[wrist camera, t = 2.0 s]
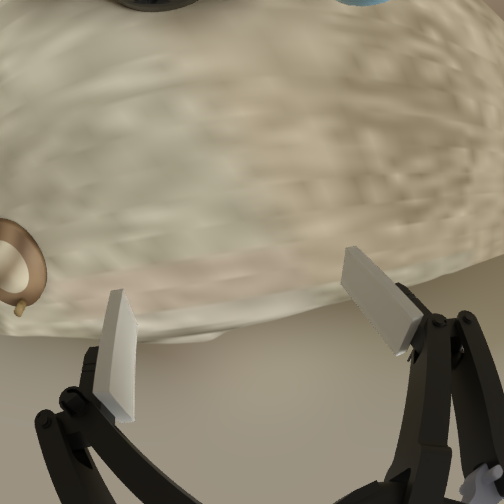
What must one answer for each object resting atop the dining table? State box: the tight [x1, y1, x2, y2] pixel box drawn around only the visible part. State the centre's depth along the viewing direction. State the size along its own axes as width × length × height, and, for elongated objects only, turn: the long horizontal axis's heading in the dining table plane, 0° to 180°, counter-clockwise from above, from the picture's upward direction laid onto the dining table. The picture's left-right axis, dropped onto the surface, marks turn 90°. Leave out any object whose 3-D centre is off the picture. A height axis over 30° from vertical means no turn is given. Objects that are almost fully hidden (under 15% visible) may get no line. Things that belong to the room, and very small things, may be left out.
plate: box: [0, 218, 47, 317], centre depth 31 cm, size 16×16×4 cm
